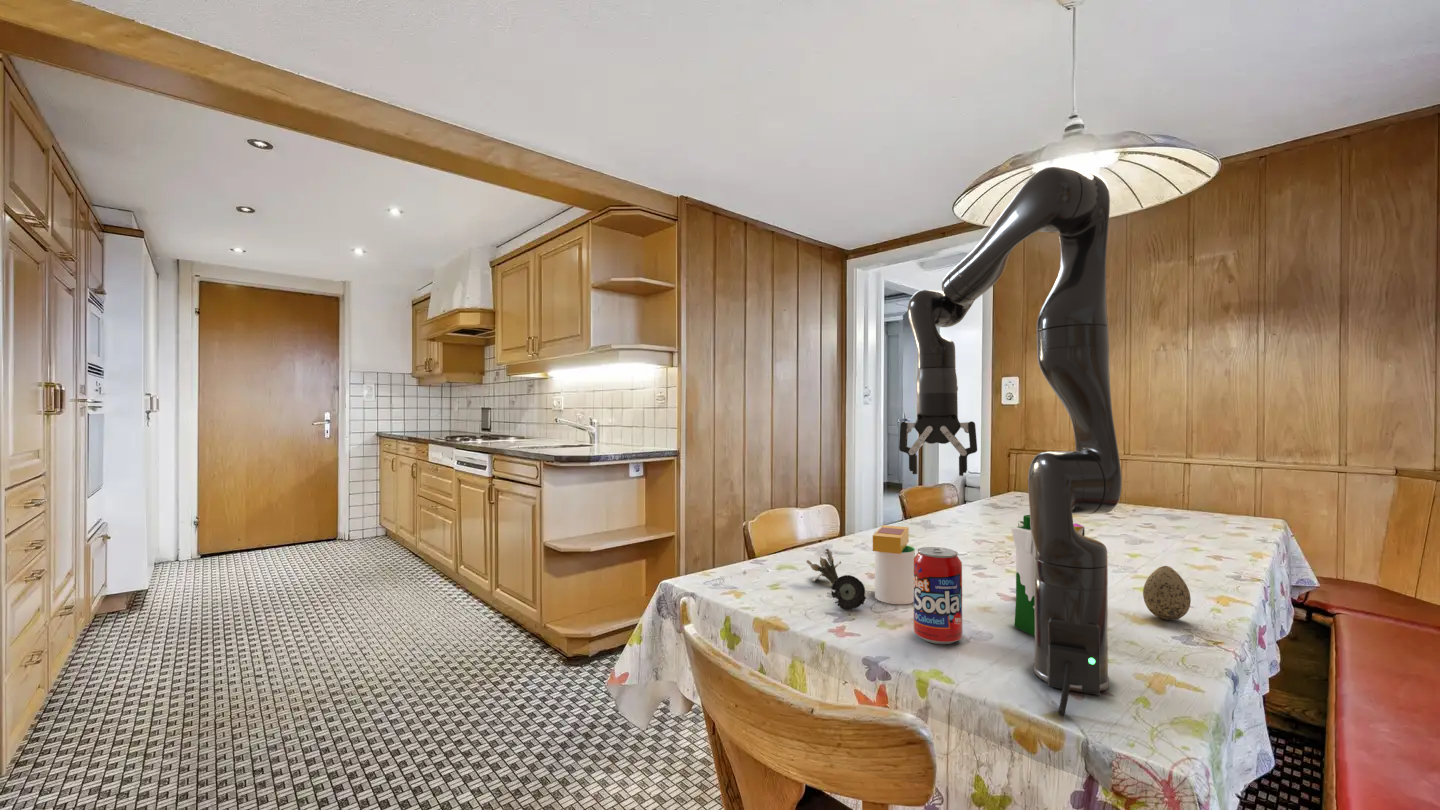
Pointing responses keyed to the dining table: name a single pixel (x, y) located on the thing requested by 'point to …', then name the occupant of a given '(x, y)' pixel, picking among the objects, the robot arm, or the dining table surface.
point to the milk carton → (1025, 577)
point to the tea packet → (891, 539)
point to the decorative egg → (1166, 594)
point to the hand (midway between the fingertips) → (937, 474)
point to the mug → (895, 576)
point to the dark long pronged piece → (841, 584)
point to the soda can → (938, 595)
